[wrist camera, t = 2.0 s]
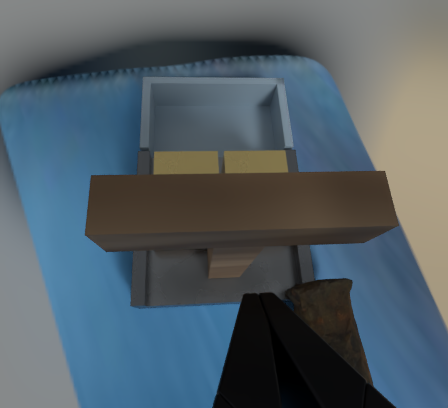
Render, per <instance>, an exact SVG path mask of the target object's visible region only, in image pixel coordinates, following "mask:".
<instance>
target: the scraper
mask: <svg viewBox="0 0 448 408" xmlns="http://www.w3.org/2000/svg"><path fill="white" fill-rule="evenodd" d="M397 226H399V224H398V220H397V216H396V212H395V208H394V204H393V201H392V197H391V193H390V189H389V185H388V181H387V177H386V173H385V171H345V172H280V173H214V174H149V175H91V181H90V190H89V200H88V210H87V219H86V229H85V236H87V237H88V238H89V239H90V240H92V241H93V242H94V243H96V244H97V245H98V246H99V247H101V248H102V249H103V250H105V251H106V252H120V251H149V250H177V249H206V248H207V257H208V278H230V277H240V276H241V275H242V273H243V272H244V271H245V270H246V269H247V267H248V266H249V265H250V264H251V263H252V262H253V260H254V259H255V258H256V257H257V256H258V254H259V253H260V252H261V251H262V250H263V248H264V247H265V246H291V245H320V244H349V243H365V242H367V241H369V240H371V239H373V238H375V237H377V236H379V235H381V234H383V233H385V232H387V231H389V230H391V229H393V228H395V227H397Z"/></svg>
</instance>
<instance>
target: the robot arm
mask: <svg viewBox="0 0 448 408" xmlns="http://www.w3.org/2000/svg"><path fill="white" fill-rule="evenodd" d="M212 408H396V407H395V406H394V405H393V404H392V403H391V402H390V401H388V400H387V399H386V398H385V397H384V396H383V395H382V394H381V393H380V392H379V391H378V390H376V389H375V388H374V387H373V386H372V385H371V384H370V383H367V381H366V379H365V378H364V377H363V376H361V375H360V374H359V373H358V372H357V371H356V370H355V369H354V368H353V367H352V366H351V365H350V364H349V363H348V362H347V361H346V360H344V359H343V358H342V357H341V356H340V355H339V354H338V353H337V352H336V351H335V350H334V349H333V348H332V347H331V346H330V345H329V344H328V343H326V342H325V341H324V340H323V339H322V338H321V337H320V336H319V335H318V334H317V333H316V332H315V331H314V330H313V329H312V328H311V327H309V326H308V325H307V324H306V323H305V322H304V321H303V320H302V319H301V318H300V317H299V316H298V315H297V314H296V313H295V312H294V311H293V310H291V309H290V308H289V307H288V306H287V305H286V304H285V303H284V302H283V301H282V300H281V299H280V298H279V297H278V296H277V295H276V294H274V293H273V292H263V293H259V294H257V293H245V294H243V297H242V300H241V304H240V308H239V311H238V315H237V319H236V323H235V326H234V330H233V334H232V337H231V341H230V345H229V348H228V352H227V356H226V360H225V363H224V367H223V371H222V374H221V378H220V382H219V386H218V389H217V394H216V396H215V400H214V403H213V407H212Z"/></svg>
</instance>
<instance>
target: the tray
mask: <svg viewBox="0 0 448 408" xmlns="http://www.w3.org/2000/svg"><path fill="white" fill-rule="evenodd" d="M292 148H293V140H292V133H291V126H290V119H289V112H288V105H287V99H286V92H285V85H284V78H210V77H143V88H142V109H141V131H140V150H141V151H150V154H151V157H152V158H154V152H159V151H218V157H223V154H224V151H266V150H292Z"/></svg>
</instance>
